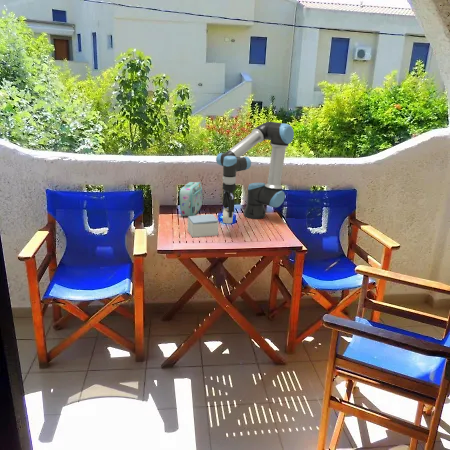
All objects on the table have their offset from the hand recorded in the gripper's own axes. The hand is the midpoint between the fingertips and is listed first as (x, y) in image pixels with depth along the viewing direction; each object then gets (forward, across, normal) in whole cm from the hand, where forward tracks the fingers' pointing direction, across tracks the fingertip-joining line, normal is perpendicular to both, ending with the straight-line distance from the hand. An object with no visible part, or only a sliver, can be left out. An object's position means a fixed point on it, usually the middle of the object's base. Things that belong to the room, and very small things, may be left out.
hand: (227, 220), depth 252 cm
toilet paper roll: (+1, 0, 0) cm, 1 cm away
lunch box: (+10, -45, -11) cm, 47 cm away
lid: (+1, -7, -14) cm, 15 cm away
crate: (+9, -7, -14) cm, 18 cm away
